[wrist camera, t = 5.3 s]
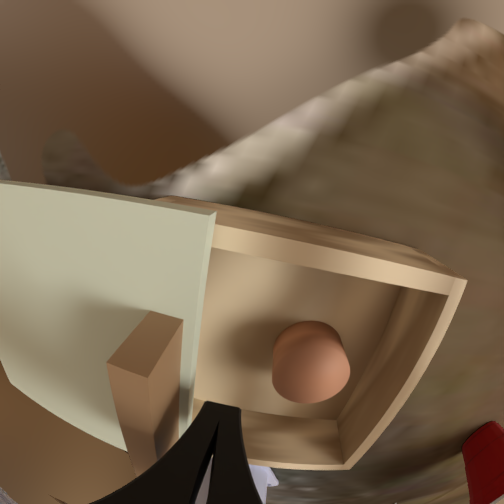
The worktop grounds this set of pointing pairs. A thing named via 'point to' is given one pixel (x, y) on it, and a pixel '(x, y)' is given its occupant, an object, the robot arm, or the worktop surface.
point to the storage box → (314, 333)
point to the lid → (104, 310)
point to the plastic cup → (485, 464)
